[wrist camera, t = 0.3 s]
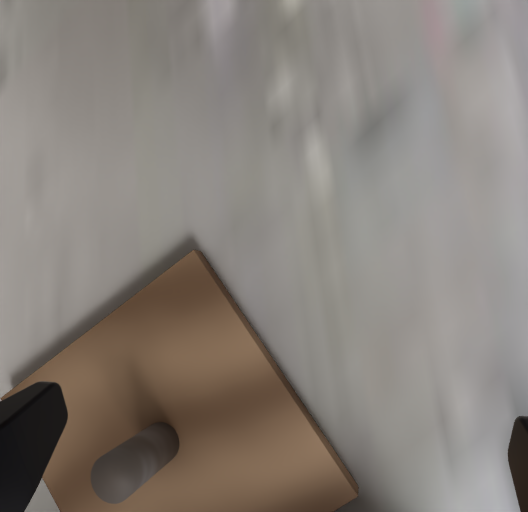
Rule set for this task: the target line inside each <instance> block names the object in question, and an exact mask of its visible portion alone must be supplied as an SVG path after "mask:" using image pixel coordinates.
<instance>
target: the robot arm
mask: <svg viewBox="0 0 528 512" xmlns="http://www.w3.org/2000/svg"><path fill="white" fill-rule="evenodd" d="M67 420H68V410H67V407H66V403H65V400H64V396H63V392H62V389H61V386H60V385H59V384H58V383H56V382H48V381H39V382H36V383H34V384H32V385H30V386H28V387H27V388H25V389H23V390H21V391H19V392H17V393H15V394H13V395H11V396H10V397H8V398H6V399H4V400H2V401H0V512H24V511H25V509H26V507H27V506H28V504H29V502H30V500H31V498H32V496H33V495H34V493H35V491H36V489H37V487H38V485H39V483H40V481H41V478H42V476H43V474H44V472H45V470H46V467H47V465H48V463H49V461H50V459H51V457H52V454H53V452H54V450H55V448H56V446H57V443H58V441H59V439H60V437H61V435H62V433H63V430H64V428H65V426H66V423H67ZM508 462H509V466H510V470H511V474H512V478H513V482H514V486H515V490H516V495H517V499H518V503H519V507H520V511H521V512H528V416H519V417H517V418H516V420H515V422H514V426H513V430H512V434H511V439H510V443H509V448H508Z"/></svg>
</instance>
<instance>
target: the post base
mask: <svg viewBox="0 0 528 512" xmlns="http://www.w3.org/2000/svg"><path fill="white" fill-rule="evenodd" d="M39 381H48V382H56V383H58V384H59V385H60V386H61V389H62V392H63V396H64V400H65V403H66V407H67V410H68V420H67V423H66V426H65V428H64V430H63V433H62V435H61V437H60V439H59V441H58V443H57V446H56V448H55V450H54V452H53V454H52V457H51V459H50V461H49V463H48V465H47V467H46V470H45V472H44V474H43V476H42V478H43V480H44V482H45V483H46V485H47V487H48V489H49V491H50V493H51V495H52V497H53V499H54V500H55V502H56V504H57V506H58V508H59V510H60V512H334V511H335V510H337V509H338V508H340V507H342V506H343V505H345V504H347V503H348V502H350V501H351V500H353V499H355V498H356V497H358V489H359V487H358V485H357V484H356V482H355V481H354V479H353V478H352V476H351V475H350V473H349V472H348V470H347V469H346V467H345V466H344V464H343V463H342V461H341V460H340V458H339V457H338V455H337V454H336V452H335V451H334V449H333V448H332V446H331V445H330V443H329V442H328V440H327V439H326V438H325V436H324V435H323V433H322V432H321V430H320V429H319V427H318V426H317V424H316V423H315V421H314V420H313V418H312V417H311V415H310V414H309V412H308V411H307V409H306V408H305V406H304V405H303V403H302V402H301V400H300V399H299V397H298V396H297V394H296V393H295V391H294V390H293V388H292V387H291V385H290V384H289V382H288V381H287V379H286V378H285V376H284V375H283V373H282V372H281V370H280V369H279V367H278V366H277V364H276V363H275V361H274V360H273V358H272V357H271V355H270V354H269V352H268V351H267V349H266V348H265V346H264V345H263V343H262V342H261V340H260V339H259V338H258V336H257V335H256V333H255V332H254V330H253V329H252V327H251V326H250V324H249V323H248V321H247V320H246V318H245V317H244V315H243V314H242V312H241V311H240V309H239V308H238V306H237V305H236V303H235V302H234V300H233V299H232V297H231V296H230V294H229V293H228V291H227V290H226V288H225V287H224V285H223V284H222V282H221V281H220V279H219V278H218V276H217V275H216V273H215V272H214V270H213V269H212V267H211V266H210V264H209V263H208V261H207V260H206V258H205V257H204V255H203V254H202V252H201V251H197V250H193V251H191V252H190V253H189V254H187V255H186V256H185V257H184V258H182V259H181V260H180V261H178V262H177V263H176V264H174V265H173V266H172V267H171V268H169V269H168V270H167V271H165V272H164V273H163V274H161V275H160V276H159V277H158V278H156V279H155V280H154V281H152V282H151V283H150V284H148V285H147V286H146V287H145V288H143V289H142V290H141V291H139V292H138V293H137V294H135V295H134V296H133V297H131V298H130V299H129V300H128V301H126V302H125V303H124V304H122V305H121V306H120V307H118V308H117V309H116V310H115V311H113V312H112V313H111V314H109V315H108V316H107V317H105V318H104V319H103V320H102V321H100V322H99V323H98V324H96V325H95V326H94V327H92V328H91V329H90V330H89V331H87V332H86V333H85V334H83V335H82V336H81V337H79V338H78V339H77V340H76V341H74V342H73V343H72V344H70V345H69V346H68V347H66V348H65V349H64V350H63V351H61V352H60V353H59V354H57V355H56V356H55V357H53V358H52V359H51V360H50V361H48V362H47V363H46V364H44V365H43V366H42V367H40V368H39V369H38V370H37V371H35V372H34V373H33V374H31V375H30V376H29V377H27V378H26V379H25V380H24V381H22V382H21V383H20V384H18V385H17V386H16V387H14V388H13V389H12V390H11V391H9V392H8V393H7V394H5V395H4V396H3V397H1V398H0V399H1V400H4V399H6V398H8V397H10V396H11V395H13V394H15V393H17V392H19V391H21V390H23V389H25V388H27V387H28V386H30V385H32V384H34V383H36V382H39Z"/></svg>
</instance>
